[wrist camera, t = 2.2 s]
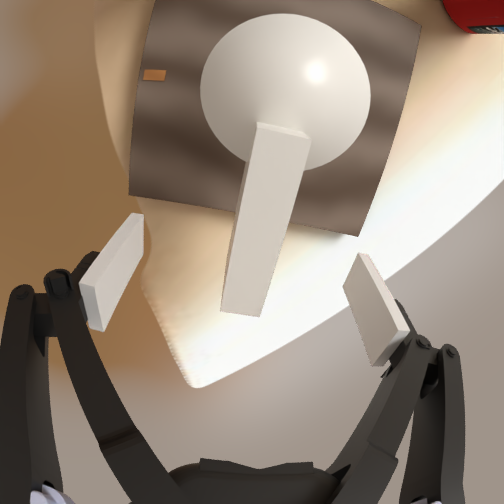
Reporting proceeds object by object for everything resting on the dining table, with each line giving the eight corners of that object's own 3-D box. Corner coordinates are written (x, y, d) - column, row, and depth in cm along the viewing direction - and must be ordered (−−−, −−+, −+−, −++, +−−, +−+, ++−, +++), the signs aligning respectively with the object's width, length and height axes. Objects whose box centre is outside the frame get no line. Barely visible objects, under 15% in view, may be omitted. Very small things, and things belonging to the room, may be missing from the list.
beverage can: (470, 44, 17) (545, 50, 7) (430, 3, 15) (503, -13, 5) (484, 15, 14) (553, 15, 4) (447, -25, 12) (513, -42, 2)
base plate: (172, -30, 15) (167, -37, 13) (411, 27, 18) (422, 25, 16) (135, 188, 28) (128, 195, 26) (352, 227, 30) (358, 237, 29)
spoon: (225, 16, 13) (213, -14, 8) (362, 51, 14) (406, 41, 9) (186, 250, 22) (168, 302, 17) (297, 269, 23) (308, 323, 18)
